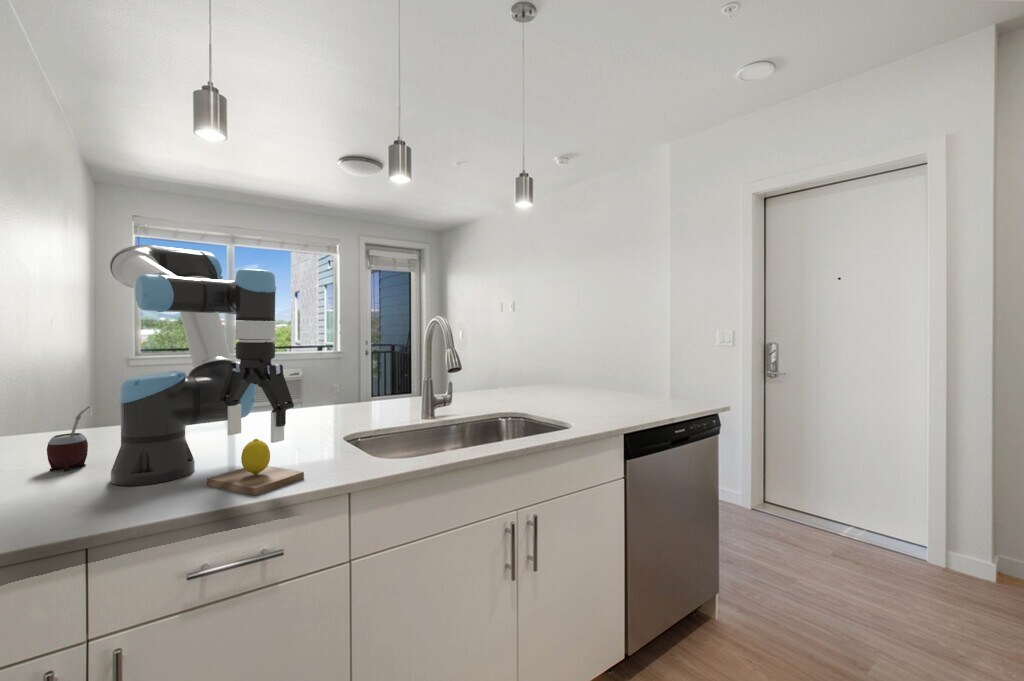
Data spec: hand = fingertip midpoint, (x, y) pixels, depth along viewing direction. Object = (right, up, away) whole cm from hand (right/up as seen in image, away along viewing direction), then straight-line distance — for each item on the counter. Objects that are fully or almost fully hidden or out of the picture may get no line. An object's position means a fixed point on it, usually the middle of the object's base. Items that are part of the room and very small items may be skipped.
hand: (255, 437), depth 102 cm
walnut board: (0, -10, 0) cm, 10 cm away
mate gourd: (-49, -9, +9) cm, 51 cm away
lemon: (0, -8, 0) cm, 8 cm away
